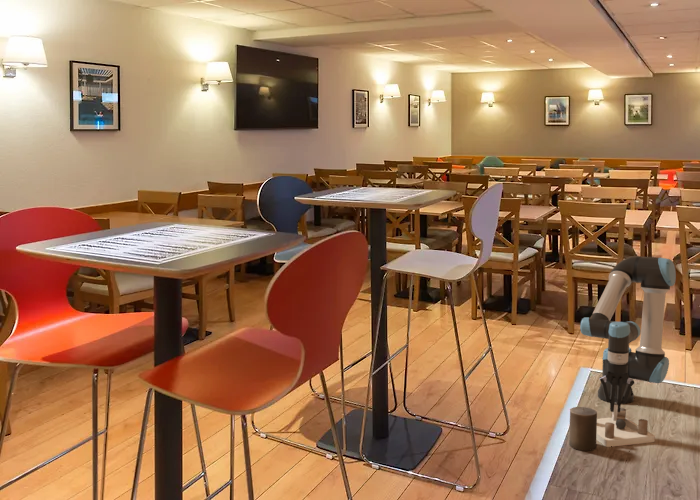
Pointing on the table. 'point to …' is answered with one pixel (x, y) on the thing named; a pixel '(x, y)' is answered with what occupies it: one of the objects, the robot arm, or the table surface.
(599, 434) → the stool seat
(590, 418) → the pillar candle
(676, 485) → the table surface
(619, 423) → the folding leg
